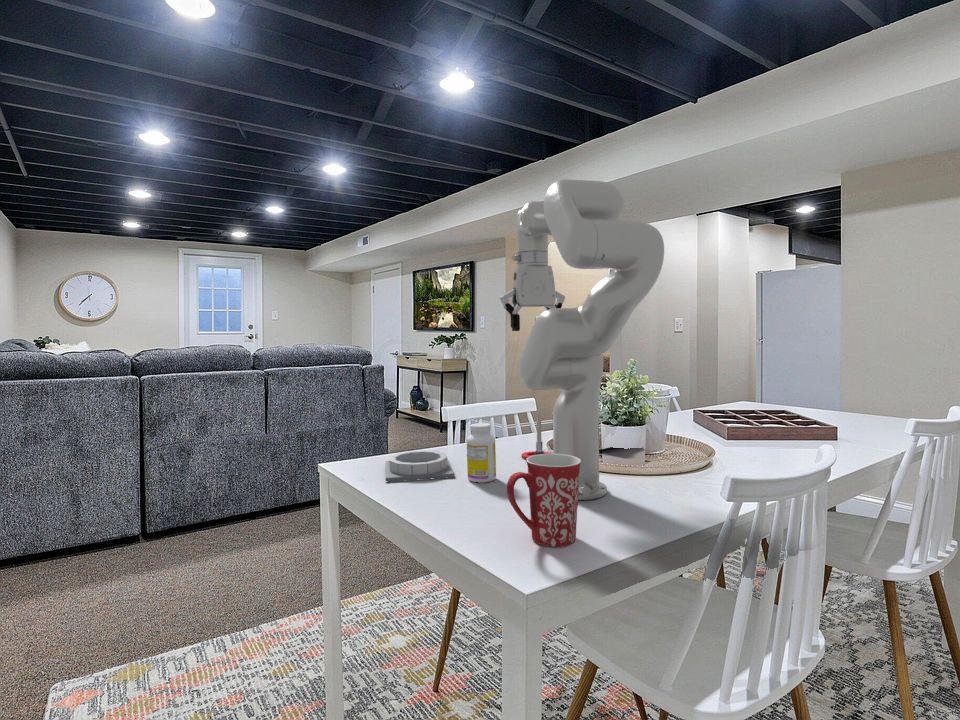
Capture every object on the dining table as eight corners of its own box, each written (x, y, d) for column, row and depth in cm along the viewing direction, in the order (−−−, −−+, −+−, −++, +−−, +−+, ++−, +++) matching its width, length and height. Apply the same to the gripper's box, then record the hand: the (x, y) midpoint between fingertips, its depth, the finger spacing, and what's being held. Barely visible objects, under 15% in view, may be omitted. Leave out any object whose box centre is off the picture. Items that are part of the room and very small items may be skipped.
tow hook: (520, 455, 154) (523, 462, 145) (519, 408, 154) (522, 412, 144) (550, 455, 154) (556, 461, 145) (549, 408, 154) (555, 412, 145)
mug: (567, 526, 99) (566, 451, 98) (591, 545, 90) (590, 463, 89) (499, 535, 95) (498, 457, 95) (518, 556, 87) (516, 470, 86)
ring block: (454, 477, 132) (454, 462, 131) (385, 482, 129) (385, 467, 129) (447, 461, 147) (446, 448, 147) (385, 465, 145) (385, 451, 144)
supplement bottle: (484, 474, 134) (483, 421, 133) (502, 479, 129) (501, 424, 128) (461, 479, 130) (460, 424, 129) (479, 485, 125) (477, 428, 124)
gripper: (506, 258, 131) (507, 331, 132) (571, 259, 137) (572, 329, 138) (494, 261, 138) (495, 331, 139) (556, 262, 144) (557, 329, 145)
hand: (533, 330), depth 138 cm, fingers open, 9 cm apart
